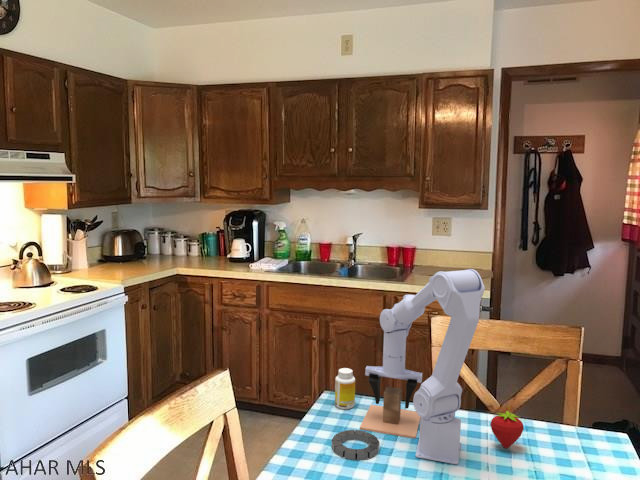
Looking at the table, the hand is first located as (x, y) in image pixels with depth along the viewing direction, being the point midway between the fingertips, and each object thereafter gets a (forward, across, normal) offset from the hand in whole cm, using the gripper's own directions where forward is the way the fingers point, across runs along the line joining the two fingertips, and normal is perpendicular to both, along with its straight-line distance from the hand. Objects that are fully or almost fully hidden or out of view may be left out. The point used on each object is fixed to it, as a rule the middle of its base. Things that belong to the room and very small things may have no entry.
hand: (392, 404), depth 134 cm
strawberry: (+5, -28, +4) cm, 29 cm away
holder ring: (+5, +6, +16) cm, 18 cm away
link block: (+4, 0, 0) cm, 4 cm away
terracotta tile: (+5, 0, 0) cm, 5 cm away
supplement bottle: (+5, +14, -5) cm, 16 cm away
